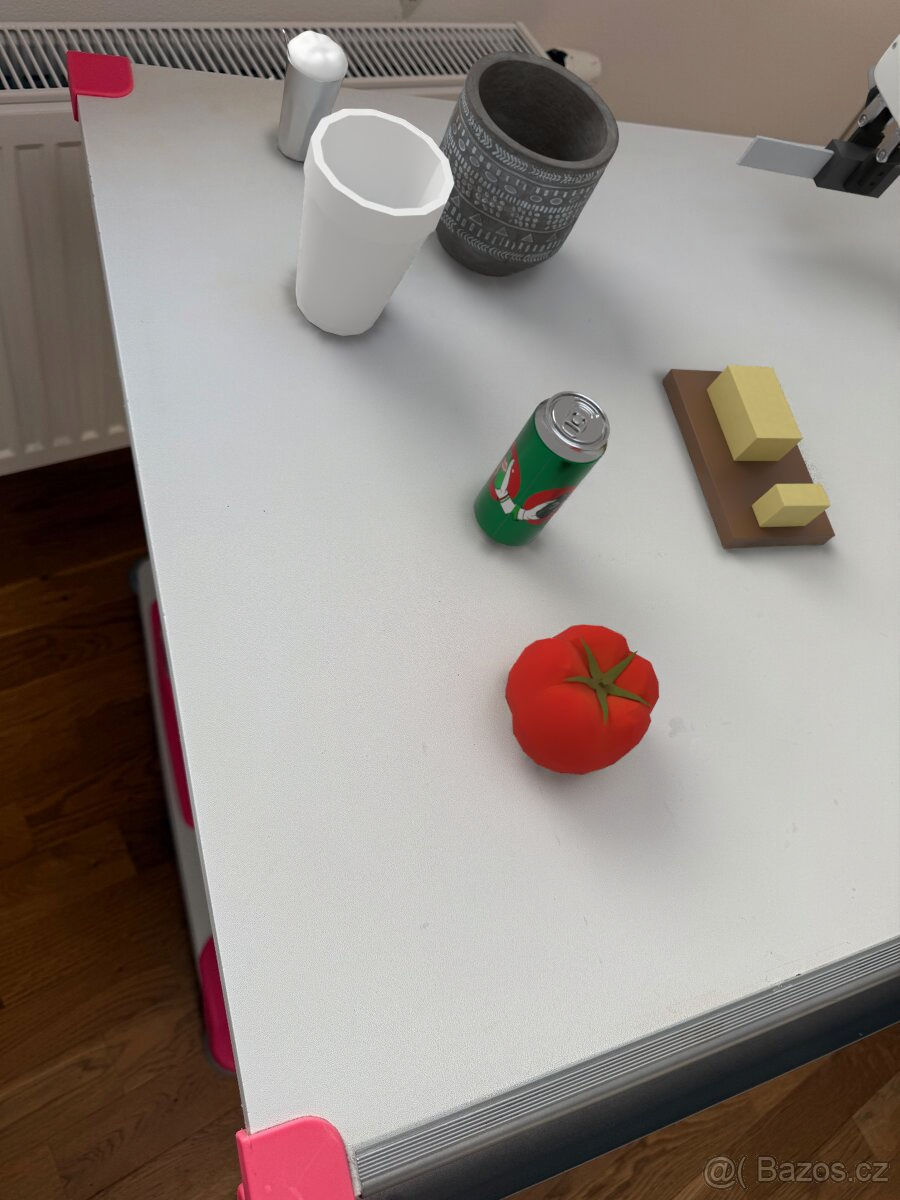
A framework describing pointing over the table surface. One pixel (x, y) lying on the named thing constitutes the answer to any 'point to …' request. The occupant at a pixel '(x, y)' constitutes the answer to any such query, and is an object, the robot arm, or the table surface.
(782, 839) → the table surface
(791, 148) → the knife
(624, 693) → the tomato
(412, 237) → the foam cup
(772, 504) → the butter pat
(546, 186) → the planter
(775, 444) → the butter stick
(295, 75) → the milkshake
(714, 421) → the board
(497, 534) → the soda can
